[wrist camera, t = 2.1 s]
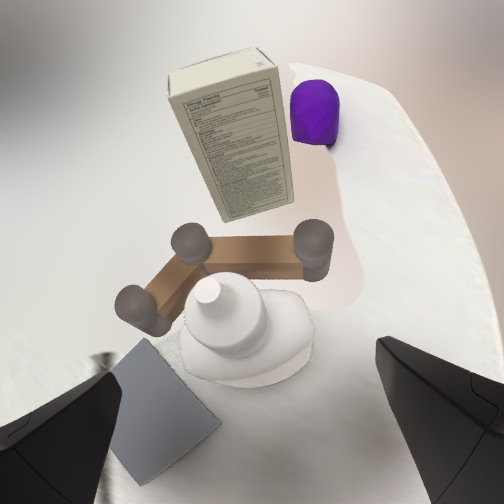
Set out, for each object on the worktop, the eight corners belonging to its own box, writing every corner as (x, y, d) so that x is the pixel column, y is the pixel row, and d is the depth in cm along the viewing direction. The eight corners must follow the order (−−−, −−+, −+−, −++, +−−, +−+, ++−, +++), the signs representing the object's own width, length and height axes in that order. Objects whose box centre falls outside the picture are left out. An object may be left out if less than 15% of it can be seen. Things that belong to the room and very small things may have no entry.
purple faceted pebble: (337, 66, 28) (341, 117, 20) (337, 99, 32) (338, 164, 24) (298, 64, 29) (282, 114, 21) (301, 97, 33) (286, 161, 25)
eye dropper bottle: (301, 400, 16) (304, 402, 5) (215, 382, 17) (95, 342, 7) (314, 334, 18) (331, 228, 7) (231, 320, 19) (147, 212, 9)
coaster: (144, 484, 13) (140, 486, 13) (84, 402, 17) (80, 401, 16) (221, 423, 15) (218, 423, 15) (147, 339, 19) (143, 337, 19)
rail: (205, 401, 16) (181, 399, 13) (135, 316, 20) (105, 297, 17) (335, 264, 20) (341, 233, 16) (252, 206, 23) (243, 172, 20)
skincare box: (279, 169, 25) (260, 44, 15) (296, 205, 23) (282, 64, 12) (212, 189, 25) (166, 70, 15) (221, 227, 23) (165, 96, 13)
